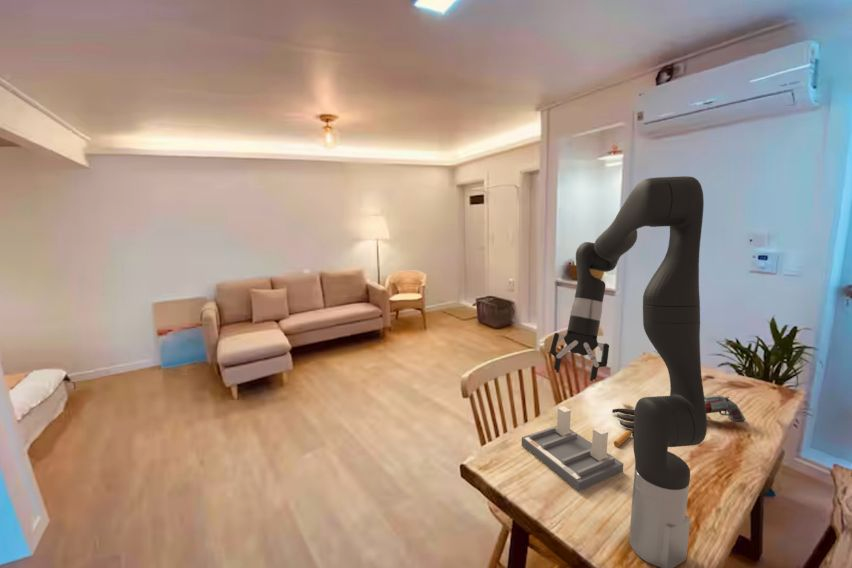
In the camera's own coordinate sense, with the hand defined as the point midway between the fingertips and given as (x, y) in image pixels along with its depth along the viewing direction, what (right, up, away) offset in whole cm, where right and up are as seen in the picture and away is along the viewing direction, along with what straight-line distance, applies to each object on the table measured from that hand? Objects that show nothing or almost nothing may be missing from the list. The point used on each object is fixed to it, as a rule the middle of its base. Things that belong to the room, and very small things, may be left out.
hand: (573, 376), depth 102 cm
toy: (+30, -22, +19) cm, 42 cm away
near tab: (+8, -23, +2) cm, 24 cm away
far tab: (+2, -21, +14) cm, 25 cm away
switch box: (+1, -25, +7) cm, 26 cm away
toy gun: (+54, -20, +25) cm, 63 cm away
